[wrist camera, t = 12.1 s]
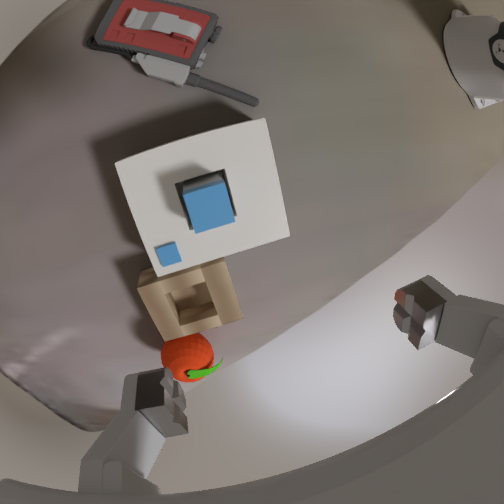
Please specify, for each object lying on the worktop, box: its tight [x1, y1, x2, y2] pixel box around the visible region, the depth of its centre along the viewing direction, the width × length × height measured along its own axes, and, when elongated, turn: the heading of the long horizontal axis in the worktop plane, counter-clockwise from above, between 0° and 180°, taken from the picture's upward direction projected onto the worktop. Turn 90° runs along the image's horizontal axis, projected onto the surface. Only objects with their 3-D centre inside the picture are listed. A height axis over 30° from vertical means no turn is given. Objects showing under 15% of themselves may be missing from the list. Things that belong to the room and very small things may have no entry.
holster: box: [137, 257, 243, 341], centre depth 33 cm, size 10×8×4 cm
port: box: [115, 118, 290, 277], centre depth 28 cm, size 14×12×5 cm
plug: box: [183, 171, 235, 234], centre depth 26 cm, size 4×4×7 cm
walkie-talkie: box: [87, 0, 259, 107], centre depth 22 cm, size 9×4×20 cm
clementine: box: [161, 333, 223, 382], centre depth 35 cm, size 8×7×7 cm
